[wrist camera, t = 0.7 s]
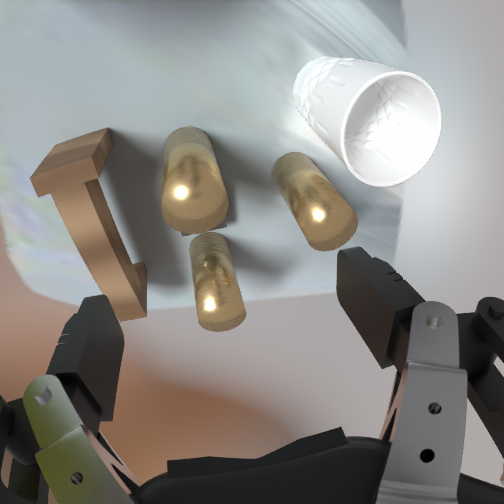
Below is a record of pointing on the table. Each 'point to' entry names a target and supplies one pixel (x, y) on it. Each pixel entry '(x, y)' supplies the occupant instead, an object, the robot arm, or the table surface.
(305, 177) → the cylinder
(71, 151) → the rake
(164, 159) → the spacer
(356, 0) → the table surface
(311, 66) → the white cup
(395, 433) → the robot arm
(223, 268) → the cylinder
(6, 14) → the table surface
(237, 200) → the table surface
